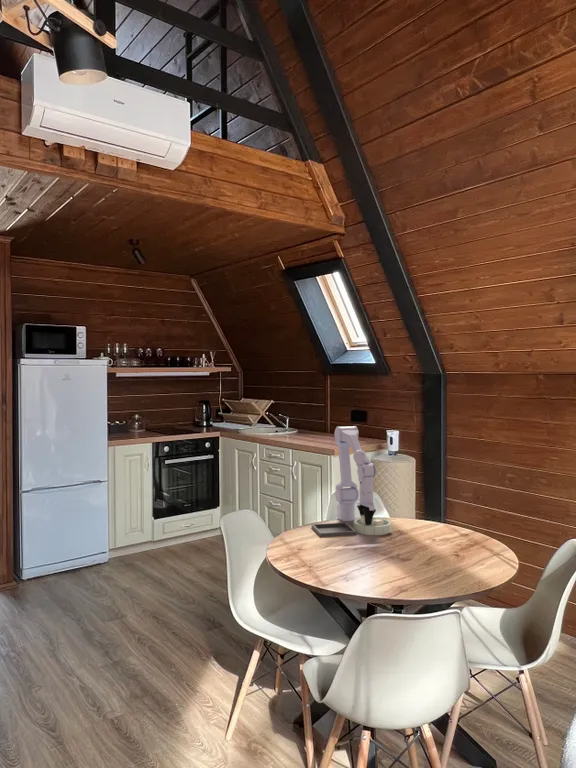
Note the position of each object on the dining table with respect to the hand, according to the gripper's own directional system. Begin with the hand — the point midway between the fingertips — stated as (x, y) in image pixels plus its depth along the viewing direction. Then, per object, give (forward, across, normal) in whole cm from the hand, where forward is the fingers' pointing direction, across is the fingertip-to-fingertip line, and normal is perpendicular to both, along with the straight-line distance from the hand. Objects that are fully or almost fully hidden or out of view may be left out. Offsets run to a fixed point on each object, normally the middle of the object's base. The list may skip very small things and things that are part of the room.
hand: (366, 523), depth 248 cm
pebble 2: (+3, 0, +6) cm, 6 cm away
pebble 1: (+1, 0, 0) cm, 1 cm away
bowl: (+4, 0, +3) cm, 5 cm away
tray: (+4, -2, -14) cm, 15 cm away
